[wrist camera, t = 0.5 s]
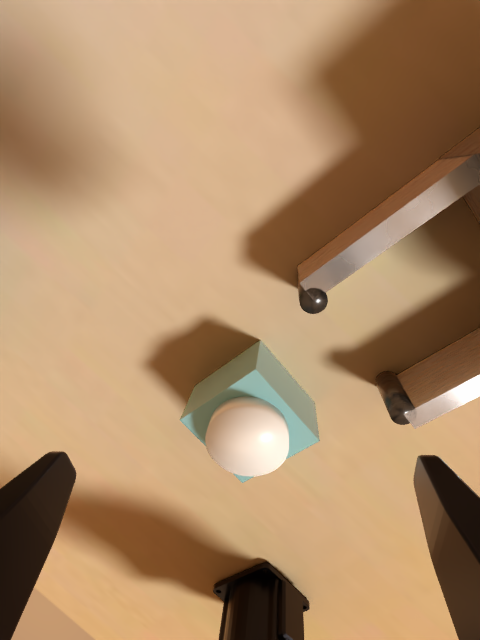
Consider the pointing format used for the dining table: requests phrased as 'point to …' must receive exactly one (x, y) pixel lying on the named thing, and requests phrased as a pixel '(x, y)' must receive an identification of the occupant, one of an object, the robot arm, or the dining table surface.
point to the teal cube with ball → (251, 414)
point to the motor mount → (377, 236)
